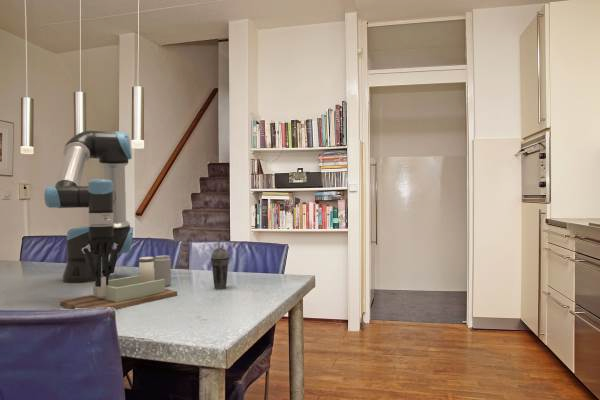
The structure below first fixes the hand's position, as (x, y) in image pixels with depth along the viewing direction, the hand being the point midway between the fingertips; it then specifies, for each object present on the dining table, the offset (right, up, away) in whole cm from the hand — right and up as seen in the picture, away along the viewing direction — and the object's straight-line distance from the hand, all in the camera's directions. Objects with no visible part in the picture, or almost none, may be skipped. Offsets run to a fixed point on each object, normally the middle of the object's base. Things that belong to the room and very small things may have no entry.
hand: (101, 295), depth 143 cm
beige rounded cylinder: (+10, -1, +13) cm, 17 cm away
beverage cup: (+35, -3, +24) cm, 43 cm away
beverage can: (+11, -3, +29) cm, 31 cm away
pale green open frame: (+6, -1, +8) cm, 10 cm away
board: (+4, -3, +5) cm, 7 cm away
